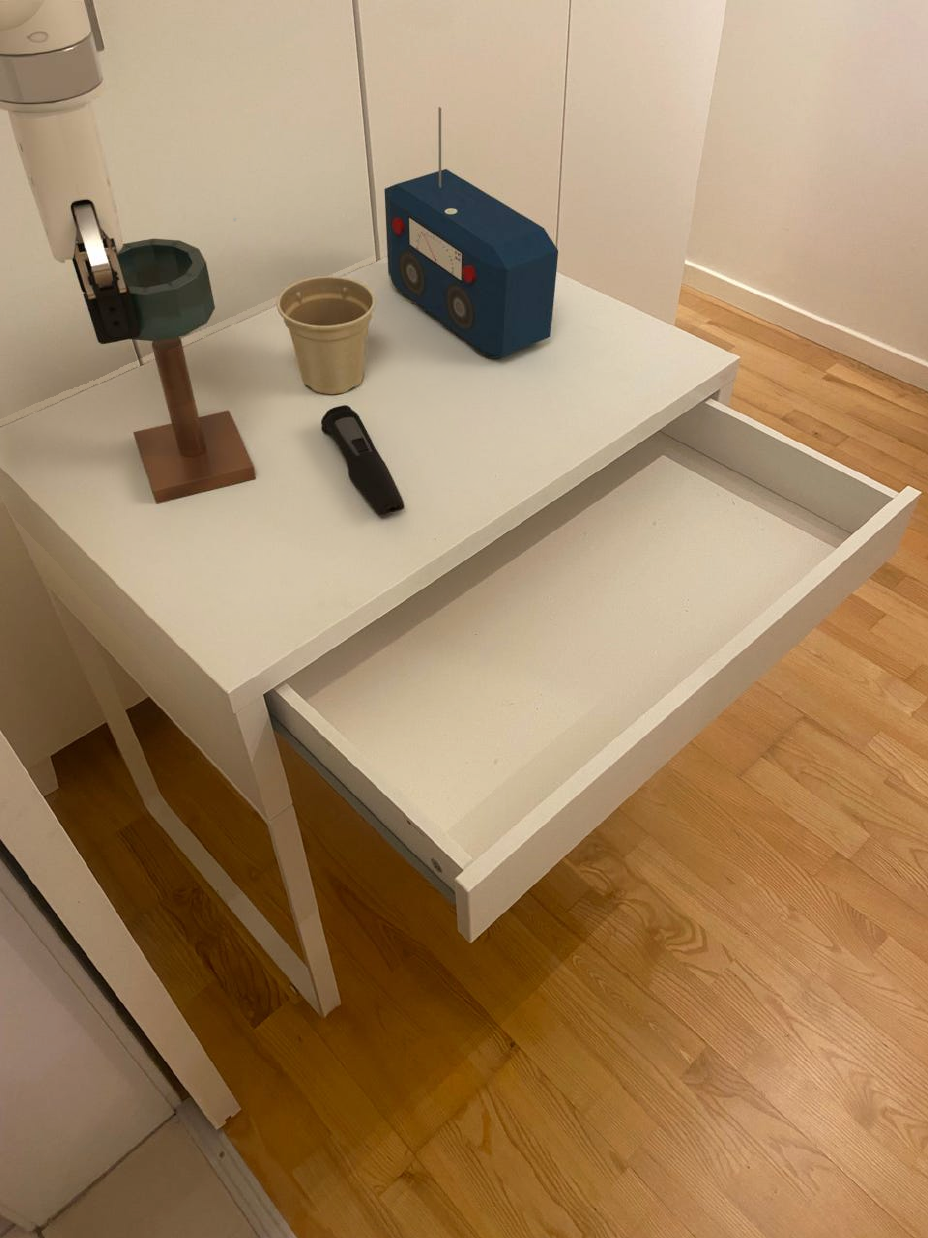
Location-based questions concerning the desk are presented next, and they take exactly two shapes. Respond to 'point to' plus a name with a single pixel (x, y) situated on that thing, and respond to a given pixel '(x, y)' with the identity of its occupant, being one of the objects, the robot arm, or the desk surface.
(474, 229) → the radio
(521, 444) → the desk surface
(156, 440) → the stand
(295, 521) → the desk surface
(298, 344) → the flower pot
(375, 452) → the electric trimmer
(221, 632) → the desk surface
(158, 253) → the ring
